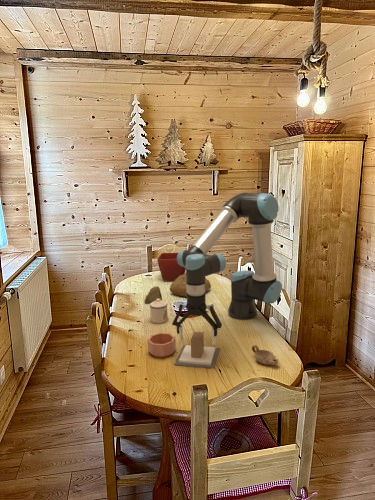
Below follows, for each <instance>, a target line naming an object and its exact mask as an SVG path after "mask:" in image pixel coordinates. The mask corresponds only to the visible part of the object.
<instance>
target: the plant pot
mask: <svg viewBox="0 0 375 500" xmlns="http://www.w3.org/2000/svg"><path fill="white" fill-rule="evenodd" d="M178 253H179V252H161V254H160V255H159V256H158V258H157V264H158V268H159V272H160V275H161V277H162V280H163V281H164V282H173V281H175V280H176V279H177V278H178V277H179V276H180V275H183V274H186V268H185V267H182V266H180V265H179V264H178V262H177V255H178Z"/></svg>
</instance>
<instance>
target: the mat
mask: <svg viewBox="0 0 375 500" xmlns="http://www.w3.org/2000/svg"><path fill="white" fill-rule="evenodd" d="M186 345H187V344H185V345H184V344H183V345H182V347H181V349H180V351H179V353H178V354H177V355H178V356H177V358H176V360H175V362H174V366H179V367H189V366H190V367H193V368H200V367H203V368H202V369H211V368H214V369H215V367H214V366H216V362H217V359H218V356H219V352H220V347H215V353H214V356H213V359H212V363H211V365H202V364H191V363H180V362H179V359H180V357H181V354H182V352H183V350H184V348H185V346H186Z"/></svg>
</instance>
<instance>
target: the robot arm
mask: <svg viewBox="0 0 375 500" xmlns="http://www.w3.org/2000/svg"><path fill="white" fill-rule="evenodd" d="M279 209H280V207H279V203H278V200H277V198H276V197H275V195H273V194H270V193H266V192H241V193H238V194H236V195H234V196H233V197H231V198H230V199H228V200H227V201H226V202H225V203H224V204H223V205H222V206H221V208H220V210H219V213H218V214H217V215H216V216H215V217H214V219H212V221H211V222H210V223H209V225H208V226H207V227H206V228H205V229H204V230H203V232H201V234H200V235H199V236H198V237H197V238H196V240H194V242H193V243H192V244H191V245H190V246H189V248H188V249H181V250H180V251H179V252H177V253H178V255H177V262H178V264H179V265H180V266H182V267H185V268H186V270H185V274H186V288H187V297H186V303H183V302H180V304H179V306H178V311H177V313H176V314H175V317H174V319H173V321H172V323H171V325H172V326H175V327H176V333H177V334H178V336H179V343H182V342H183V339H184V335H183V333H184V332H183V323H184V322H185V321H186V320H187V319H188V318H189V316H192V317H193V316H197V317H200V316H201V317H202V318H204V319H205V321H206V322H207V323H209V325H210V326H211V328H212V329H211V342H212V343H211V344H212V346H214V345H215V343H216V337H218V329H221V328H222V326H223V323H222V322H221V320H220V318H219V316H218V315H217V312H216V310H215V306H214V304H210V305H207V302H206V292H205V278H206V277H208V276H211V275H214V274H219V273H220V272H222V271H224V270H225V269H226V267H227V261H226V258H225V256H224V255H223V254H221V253H213V254H208V252H209V251H211V249H212V248H213V247H214V245H215V244H216V243H217V242H218V240H219V239H220V238H221V237H222V236H223V234H225V232H226V231H227V230H228V228H229V227H230V226H231V225H232V224H233V223H236V222H237V221H238V220H239V219H241V218H247V221H248V225H249V226H250V227H251V232H252V233H251V234H252V246H253V247H252V248H253V260H254V263H253V264H254V271H252V270H237V271H236V272H232V274H231V280H230V283H231V286H230V290H231V291H230V293H231V299H230V300H231V301H230V303H229V305H228V309H227V311H228V312H227V315H228V316H230V317H231V318H233V319H236V320H251V319H253V318H255V317H257V315H258V309H257V306H256V303H255V301H259V302H262V303H264V304H275V303H276V302H277V301H278V300H279V298H280V296H281V294H282V291H281V290H282V289H283V284H282V282H281V281H279V280H277V279H278V278H277V274H276V273H275V272H274V265H273V262H274V261H273V248H272V247H273V245H272V228H271V227H272V225H273V223H274V221H275V220H276V218H277V217H278V213H279ZM280 293H281V294H280ZM185 308H186V310H187V312H186V313H185V314H184V315H183V316H182V317H181V318H180V320H179V317H180V316H181V314H182V311H183V310H185ZM207 310H208V312H210V314H211V316H210V315H209V314H208V312H207ZM178 320H179V321H178Z"/></svg>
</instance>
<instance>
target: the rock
mask: <svg viewBox="0 0 375 500" xmlns="http://www.w3.org/2000/svg"><path fill="white" fill-rule="evenodd" d="M156 299H160V300H162V301H163V298H162V293H161V289H160V287H159V286H153V287H151V288H150V289H149V291H148V293H147V295H145V299H144V304H150V303H152V302H154V301H156Z"/></svg>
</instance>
